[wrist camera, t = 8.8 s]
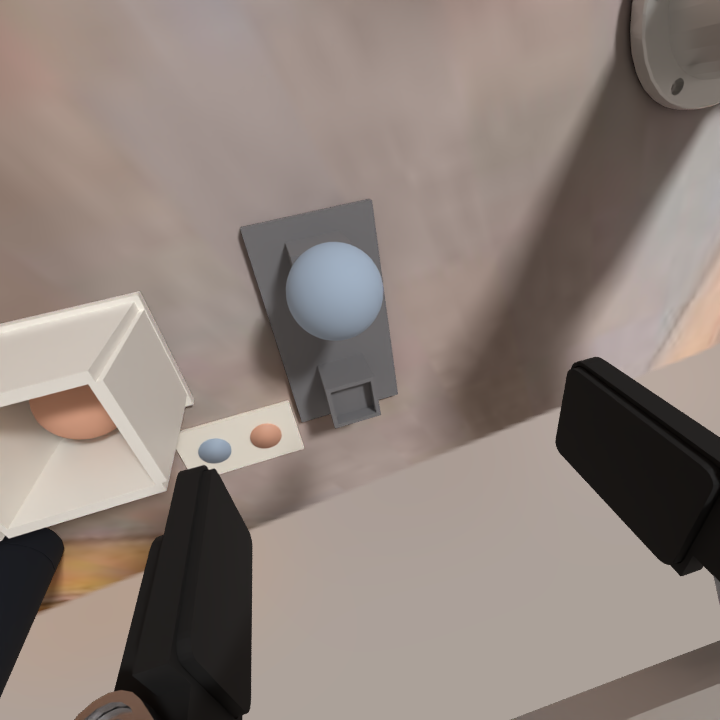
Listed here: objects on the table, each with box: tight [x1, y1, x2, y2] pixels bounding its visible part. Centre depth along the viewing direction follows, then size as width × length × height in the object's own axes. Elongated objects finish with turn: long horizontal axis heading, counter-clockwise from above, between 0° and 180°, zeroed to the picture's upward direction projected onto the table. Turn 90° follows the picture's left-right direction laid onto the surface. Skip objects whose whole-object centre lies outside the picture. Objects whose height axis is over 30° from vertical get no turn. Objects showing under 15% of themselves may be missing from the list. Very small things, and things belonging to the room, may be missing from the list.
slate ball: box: [286, 242, 383, 341], centre depth 20 cm, size 5×5×5 cm
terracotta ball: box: [29, 384, 117, 440], centre depth 22 cm, size 5×5×5 cm
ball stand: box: [240, 199, 398, 428], centre depth 26 cm, size 8×15×4 cm, turn 9°
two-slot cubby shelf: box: [0, 291, 194, 541], centre depth 21 cm, size 16×8×9 cm, turn 99°
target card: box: [176, 400, 304, 474], centre depth 30 cm, size 9×5×1 cm, turn 99°
